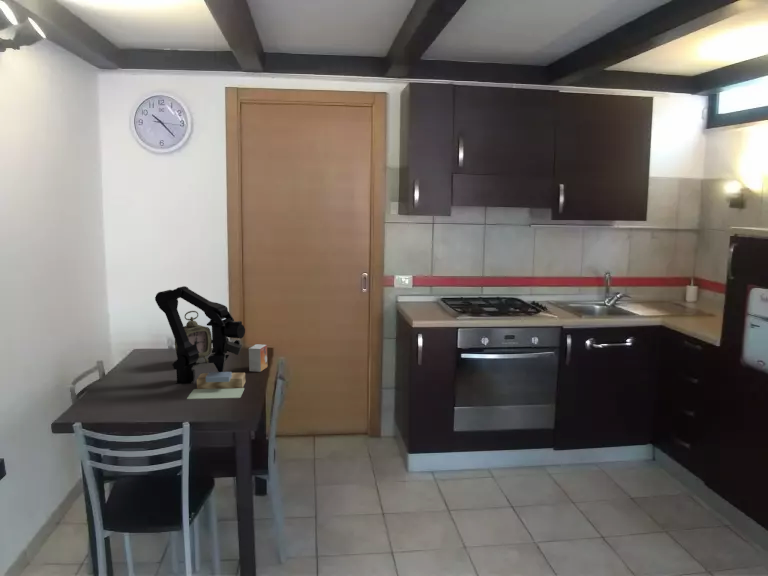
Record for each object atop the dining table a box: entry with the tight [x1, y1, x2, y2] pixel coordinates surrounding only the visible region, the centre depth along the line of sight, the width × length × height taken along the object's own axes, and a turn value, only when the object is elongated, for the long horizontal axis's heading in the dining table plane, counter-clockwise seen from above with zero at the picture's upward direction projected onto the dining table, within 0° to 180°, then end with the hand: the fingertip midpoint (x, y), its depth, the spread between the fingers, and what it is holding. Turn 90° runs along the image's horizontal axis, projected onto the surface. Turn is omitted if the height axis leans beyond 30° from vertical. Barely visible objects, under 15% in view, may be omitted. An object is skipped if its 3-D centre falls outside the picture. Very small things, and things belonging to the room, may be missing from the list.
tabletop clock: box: [174, 310, 213, 363], centre depth 269 cm, size 14×9×25 cm, turn 139°
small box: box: [248, 343, 268, 373], centre depth 262 cm, size 8×6×10 cm
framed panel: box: [196, 372, 246, 389], centre depth 240 cm, size 18×8×4 cm, turn 94°
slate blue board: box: [206, 371, 233, 382], centre depth 236 cm, size 9×6×2 cm, turn 93°
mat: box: [186, 387, 245, 400], centre depth 230 cm, size 20×11×1 cm, turn 94°
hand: (221, 373), depth 239 cm, fingers closed
